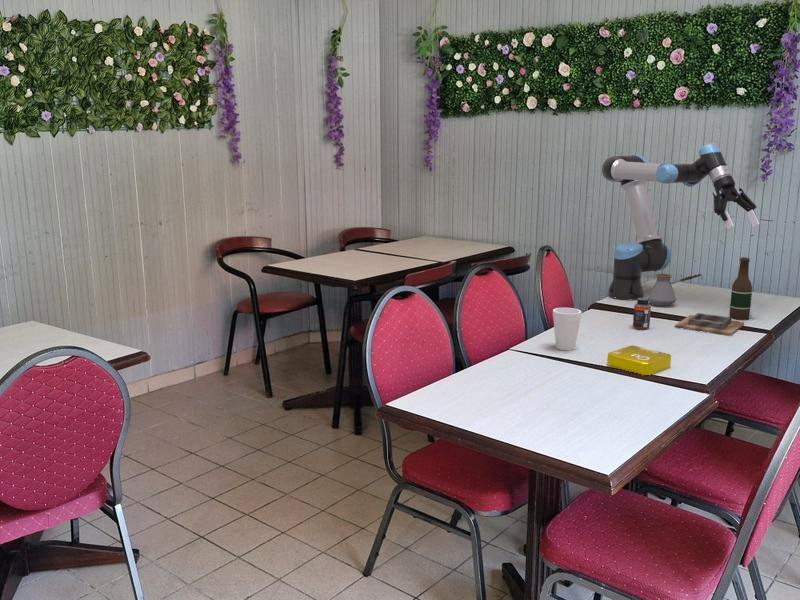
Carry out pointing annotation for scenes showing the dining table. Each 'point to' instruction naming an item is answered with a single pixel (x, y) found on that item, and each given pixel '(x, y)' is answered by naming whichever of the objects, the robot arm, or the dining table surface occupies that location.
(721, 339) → the dining table surface
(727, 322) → the holder board
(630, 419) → the dining table surface
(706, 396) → the dining table surface
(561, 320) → the foam cup
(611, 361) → the element tile
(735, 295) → the beer bottle
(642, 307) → the supplement bottle
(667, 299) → the coffee pot
